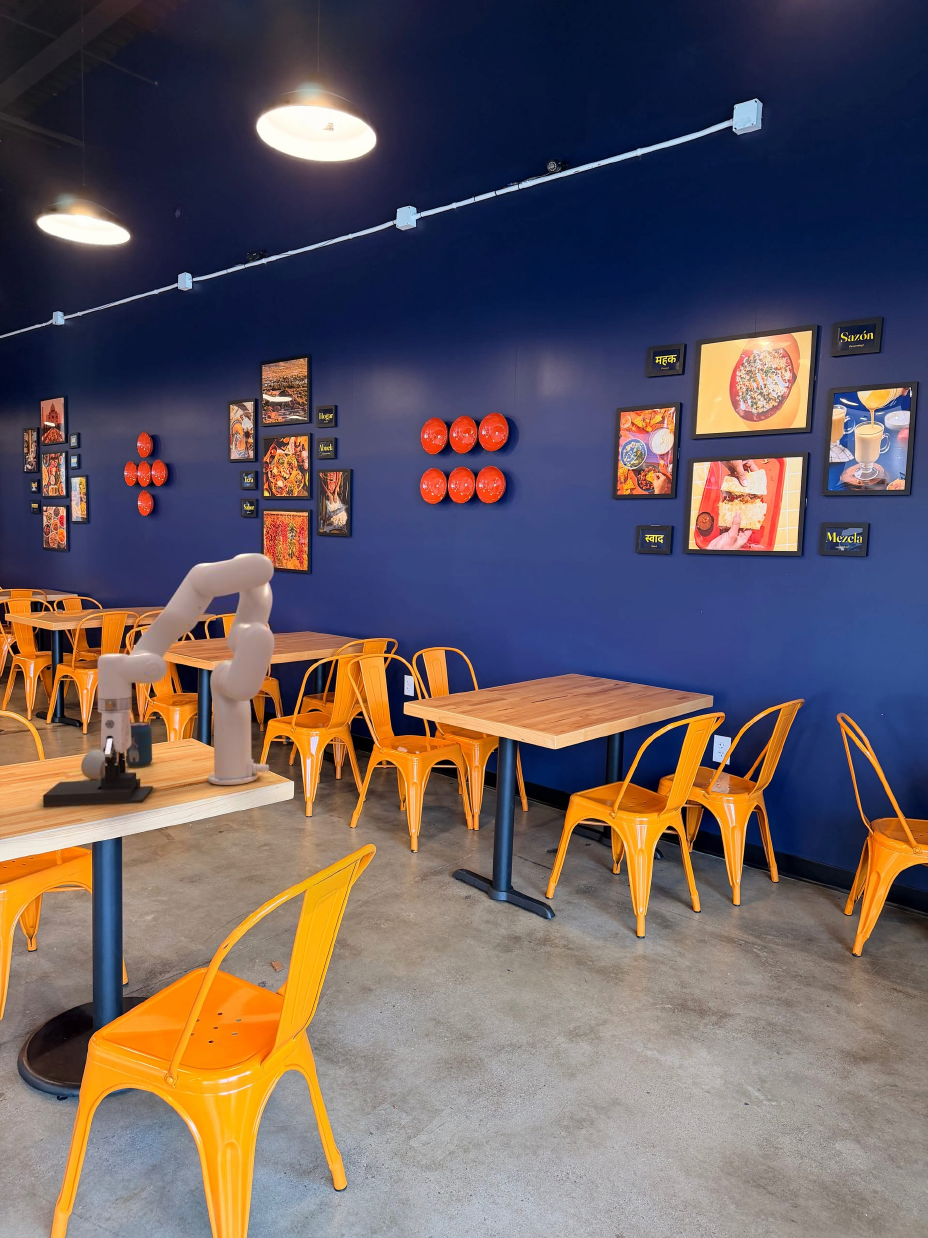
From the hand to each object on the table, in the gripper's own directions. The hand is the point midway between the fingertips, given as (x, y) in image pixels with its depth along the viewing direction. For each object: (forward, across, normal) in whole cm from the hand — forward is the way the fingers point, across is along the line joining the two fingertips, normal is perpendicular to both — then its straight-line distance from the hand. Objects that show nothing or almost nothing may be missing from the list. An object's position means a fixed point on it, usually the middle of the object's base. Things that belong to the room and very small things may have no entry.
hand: (115, 778), depth 194 cm
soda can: (+5, +32, +2) cm, 33 cm away
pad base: (+5, 0, +4) cm, 6 cm away
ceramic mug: (+5, +18, +6) cm, 20 cm away
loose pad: (+3, 0, -1) cm, 3 cm away
